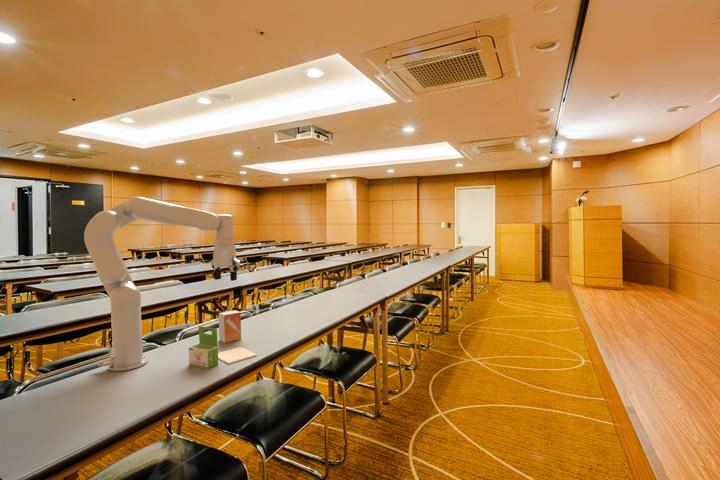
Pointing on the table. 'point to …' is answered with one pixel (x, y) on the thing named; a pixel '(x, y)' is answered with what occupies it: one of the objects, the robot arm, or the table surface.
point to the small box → (229, 326)
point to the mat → (235, 355)
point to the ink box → (205, 350)
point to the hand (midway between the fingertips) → (225, 279)
